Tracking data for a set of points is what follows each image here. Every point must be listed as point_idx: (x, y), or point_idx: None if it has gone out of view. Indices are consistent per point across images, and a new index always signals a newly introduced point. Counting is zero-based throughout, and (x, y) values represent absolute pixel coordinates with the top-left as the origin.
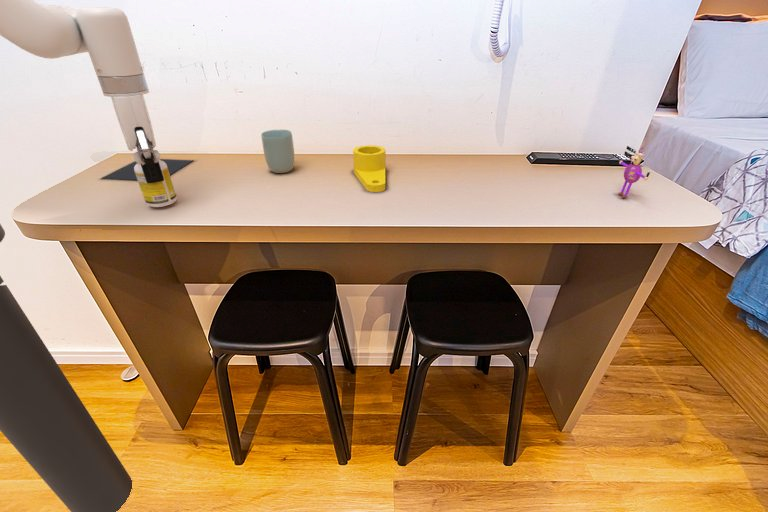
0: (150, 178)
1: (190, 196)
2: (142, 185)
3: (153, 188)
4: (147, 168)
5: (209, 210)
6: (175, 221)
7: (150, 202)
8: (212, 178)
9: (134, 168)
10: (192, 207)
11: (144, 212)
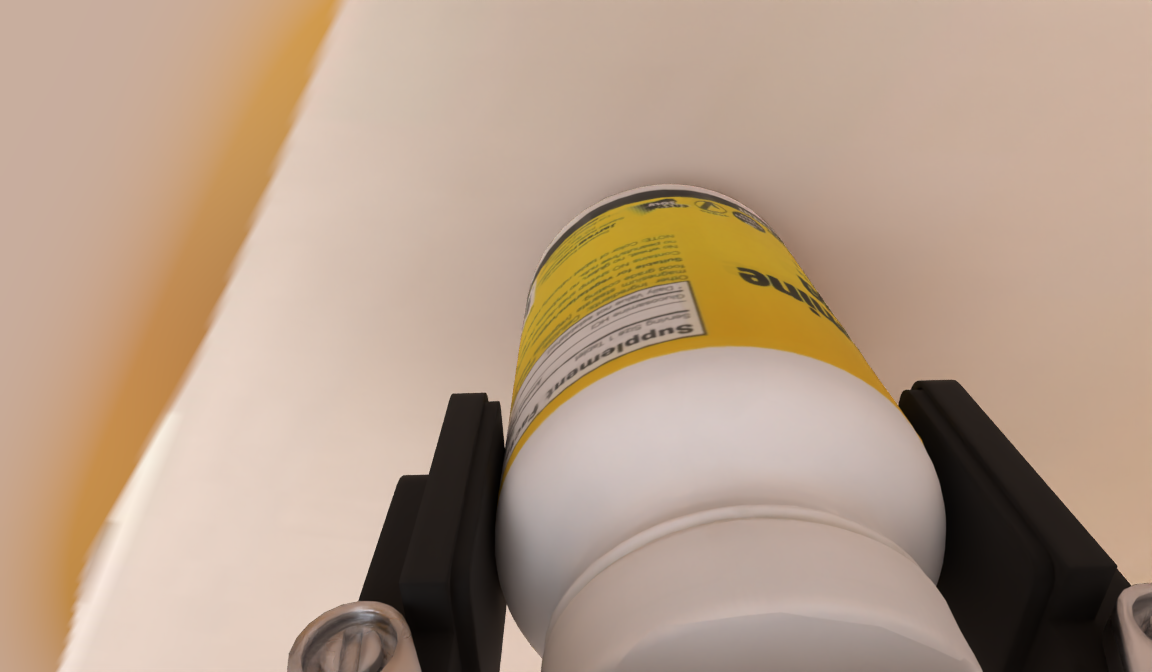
0: (404, 477)
1: None
2: (586, 300)
3: (515, 377)
4: (367, 591)
5: (371, 550)
6: (256, 344)
7: (560, 240)
8: None
9: (703, 389)
10: None
11: (571, 134)
